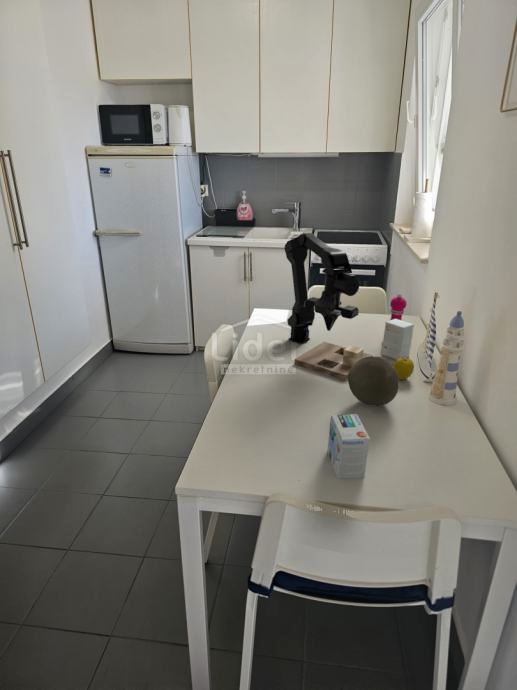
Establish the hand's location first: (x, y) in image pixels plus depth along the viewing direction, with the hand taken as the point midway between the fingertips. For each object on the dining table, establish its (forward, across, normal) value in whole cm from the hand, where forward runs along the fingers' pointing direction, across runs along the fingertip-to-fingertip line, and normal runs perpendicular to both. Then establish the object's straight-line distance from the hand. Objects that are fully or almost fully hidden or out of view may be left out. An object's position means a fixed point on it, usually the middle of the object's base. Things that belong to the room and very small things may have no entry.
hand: (328, 330), depth 161 cm
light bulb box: (+11, +34, -51) cm, 63 cm away
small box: (+11, +19, +18) cm, 29 cm away
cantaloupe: (+11, +27, -21) cm, 36 cm away
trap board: (+11, +4, -2) cm, 12 cm away
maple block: (+9, +11, -2) cm, 14 cm away
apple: (+11, +28, +2) cm, 30 cm away
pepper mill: (+11, +13, +32) cm, 36 cm away
